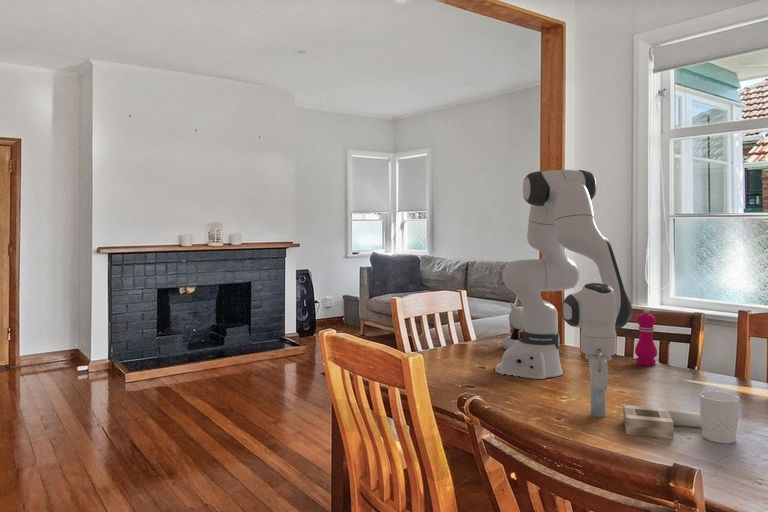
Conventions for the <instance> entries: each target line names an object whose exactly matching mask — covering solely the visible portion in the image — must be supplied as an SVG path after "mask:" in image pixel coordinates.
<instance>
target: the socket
mask: <svg viewBox="0 0 768 512" xmlns="http://www.w3.org/2000/svg"><path fill="white" fill-rule="evenodd" d="M622 409H623V410H622V412H623V415H622V417H623V420H622V421H623V424H624V431H625V433H626V435H631V436H639V437H647V438H648V437H650V438H659V439H666V440H667V439H668V440H674V433H675V432H674V428H675V427H674V426H675V425H674V422H673V420H672V418H671V416H670V414H669V412H668V410H669V409H668V408H666V407H665V408H664V407H654V406H653V407H652V406H641V405H629V404H628V405H627V404H623V408H622Z"/></svg>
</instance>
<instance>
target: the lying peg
mask: <svg viewBox="0 0 768 512" xmlns="http://www.w3.org/2000/svg"><path fill="white" fill-rule="evenodd" d="M667 410H668V412H669V414H670V416H671V418H672V420H673V422H674V426H676V427H677V426H678V427H686V428H687V427H688V428H699V429H702V425H701V416H700V412H694V411H683V410H675V409H674V410H673V409H667Z"/></svg>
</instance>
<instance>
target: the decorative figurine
mask: <svg viewBox="0 0 768 512" xmlns="http://www.w3.org/2000/svg"><path fill="white" fill-rule="evenodd" d="M510 306H511V310H510V312H509V314H508V322H509V324H510V325H511V326H512V327H513V331H512V333H511V335H510V336H509V335H508V336H506V337H505V338H504V339H503V340H502V341H501V342H502V347H503V349H505V351H506V350H507V349H508V348H510V347H511V346H512V345H514V344H515V343H517V342H518V341H519V340H518V331H519V330H521V329H522V330H524V312H523V307H522V305H520V306H519V305H518V306H516V305H515V304H514V303H513V302H512V301H510Z"/></svg>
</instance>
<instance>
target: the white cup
mask: <svg viewBox="0 0 768 512" xmlns="http://www.w3.org/2000/svg"><path fill="white" fill-rule="evenodd" d="M699 409H700V410H699V411H700V412H699V413H700V416H701V425H702V428H701V436H702V437H703V438H704V439H706V440H707V441H711V442H714V443H720V444H733V443H735V442H736V441H737V429H738V422H739V412H740V411H739V410H740V398H739V396H737V395H735V394H733V393H728V392H724V391H715V390H709V391H708V390H706V391H701V392H699Z"/></svg>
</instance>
